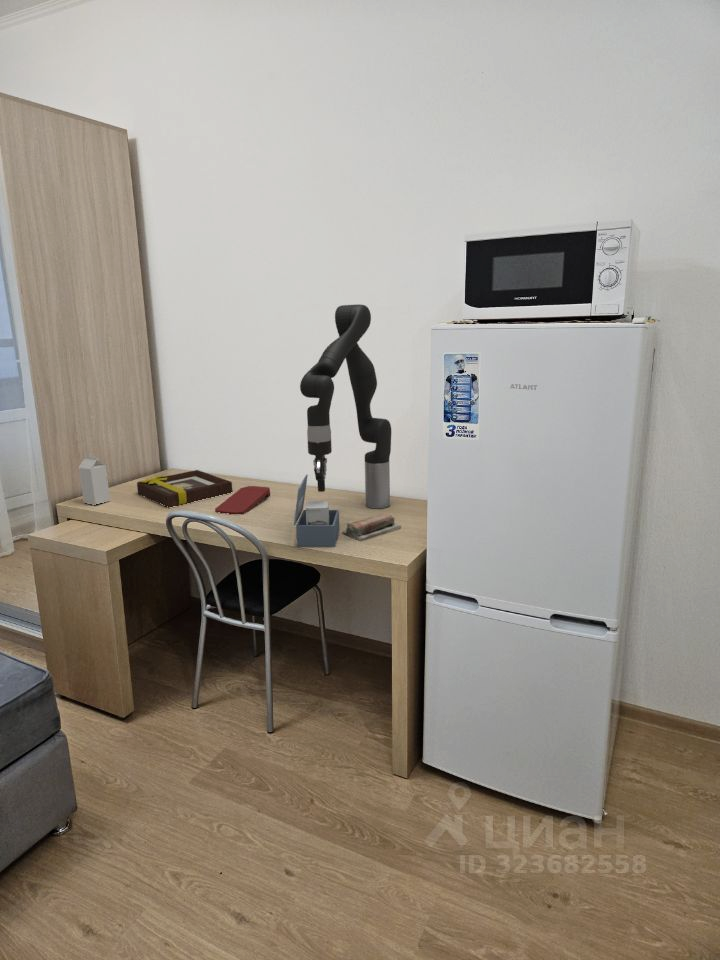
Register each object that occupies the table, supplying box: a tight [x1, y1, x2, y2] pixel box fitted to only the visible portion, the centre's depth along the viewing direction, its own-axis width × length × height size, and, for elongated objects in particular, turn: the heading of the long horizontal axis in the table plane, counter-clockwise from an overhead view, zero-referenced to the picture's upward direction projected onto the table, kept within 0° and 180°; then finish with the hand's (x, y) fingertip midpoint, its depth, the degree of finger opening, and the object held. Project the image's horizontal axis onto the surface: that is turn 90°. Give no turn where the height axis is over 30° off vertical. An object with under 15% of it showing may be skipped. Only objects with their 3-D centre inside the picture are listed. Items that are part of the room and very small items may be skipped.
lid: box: [293, 474, 309, 526], centre depth 206 cm, size 16×12×1 cm
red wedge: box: [214, 485, 271, 515], centre depth 247 cm, size 12×5×25 cm
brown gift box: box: [136, 469, 233, 508], centre depth 263 cm, size 28×7×30 cm
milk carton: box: [78, 455, 111, 506], centre depth 251 cm, size 7×7×19 cm
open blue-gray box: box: [295, 509, 341, 548], centre depth 209 cm, size 16×12×7 cm
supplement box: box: [305, 500, 330, 525], centre depth 205 cm, size 7×7×13 cm
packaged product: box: [342, 513, 402, 542], centre depth 214 cm, size 18×5×10 cm
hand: (321, 491), depth 207 cm, fingers closed
